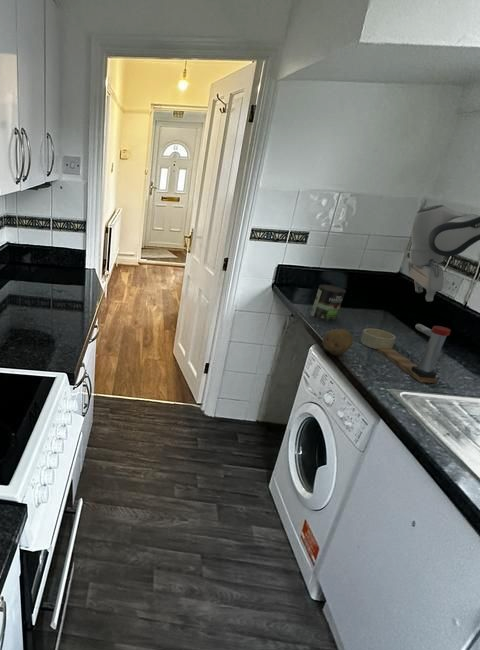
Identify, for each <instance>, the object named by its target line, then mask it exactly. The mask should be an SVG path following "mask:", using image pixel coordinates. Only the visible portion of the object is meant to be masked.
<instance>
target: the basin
mask: <svg viewBox="0 0 480 650" xmlns="http://www.w3.org/2000/svg"><path fill="white" fill-rule="evenodd" d="M396 338H397V337H396V336H395V335H394V334H393V333H392V332H389V331H386V330H384V329H379V328H372V327H371V328H365V329H363V331H362V334H361V337H360V340H359V341H360V343H361V344H362V345H364V346H365V347H368V348H371V349H374V350H378V349H379V348H386V349H393V346H394V344H395V341H396Z"/></svg>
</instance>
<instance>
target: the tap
mask: <svg viewBox="0 0 480 650" xmlns="http://www.w3.org/2000/svg"><path fill="white" fill-rule="evenodd" d="M414 328H415V330H417V331H419V332H421V333H423V334H424V335H426V336H427V337H429V340H428V342H427V345H426V347H425V350H424V352H423V354H422V356H421V359H420V361H419V364H418V365H417V366H418V367H417V366H413V367H412V369H411V370H412V371H413V372H414V373H416V374H417V375H419V376H420V377H431V378H437V377H436V376H437V372H435V371H433V369H434V367H435V365H436V362H437V360H438V358H439V356H440V353H441V350H442V348H443V346H444V344H445V341H446V339H447V337H448V336H450V334H451V332H452V330H451V329H450V328H449V327H445V326H442V325H433V326H432V328H429V327H427V326H425V325H423V324H421V323H416V324H415V327H414Z"/></svg>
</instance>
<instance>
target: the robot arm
mask: <svg viewBox="0 0 480 650" xmlns="http://www.w3.org/2000/svg"><path fill="white" fill-rule="evenodd" d="M410 232H411V233H410V237H411V245H410V248H409V249H410V250H408V251H407V252H406V258H407V259H408V261H407V263H408V265H407V266H408V267H407V268H408V275H409V277H410V278H411V279H412V280H413V283H414V289H415V290H414V291H415V292H416V293H417V294H421V293H424V289H425V291H426V294H425V296H424V297H425V298H424V300H425V301H426V302H433V301H434V296H435V295H436V293H437V292H441V291H442V290H443V289H444V269H443V267H442V266H440V264H441V263H443V262H444V260H445V257H456V256H458V255H460V254H462V253H463V252H465V251H466V250H467V249H468V248H470V247H471V246H473V245H474V244H475V243H477V242H479V241H480V215H478V214H476V213H475V214H474V213H465V212H461V211H457V210H454V209H452V208H449V207H447V206H446V205H443V204H437V205H432V206H427V207H424V208H422V209H419V210H418V211H416V213H414V216H413V219H412V224H411V231H410Z"/></svg>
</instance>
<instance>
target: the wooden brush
mask: <svg viewBox="0 0 480 650" xmlns="http://www.w3.org/2000/svg"><path fill="white" fill-rule="evenodd" d="M377 352H379V354H381V355H382V356H384V357H385V358H386V359H388V360H389V361H390V362H392V363H393V364H394V365H395V366H397V367H398V368H400V369H401V370H402V371H404V372H405V373H407V375H409V376H411V377H412V378H414V379H415V380H417V382H419V383H425V384H426V383H427V384H437V381H438V378H437V377H435V378H431V377H420V376H419V375H417V374H416V373H414V372H413V371H412V370H411V369H412V367H413V366H417V367H418V366H419V365H417V364H416V363H414V362H413V361H411V360H409V359H408V358H407V357H405V356H404V355H402V354H401V353H400V352H398V351H396V350H395V349H394V348H392V349H386V348H379V349H377Z"/></svg>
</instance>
